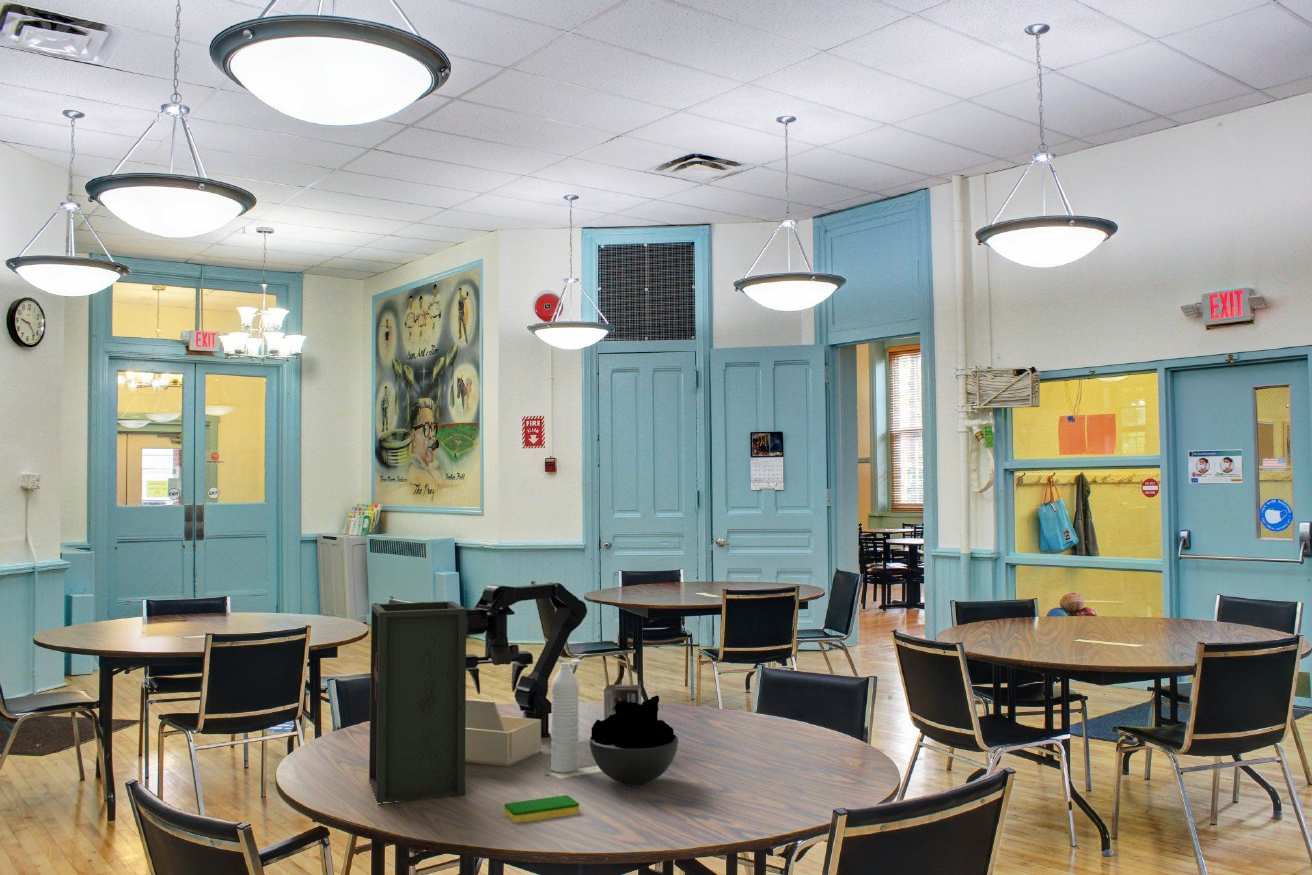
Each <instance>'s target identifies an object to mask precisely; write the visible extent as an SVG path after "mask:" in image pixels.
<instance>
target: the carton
mask: <svg viewBox="0 0 1312 875" xmlns="http://www.w3.org/2000/svg"><path fill="white" fill-rule="evenodd" d="M500 718H501V720H502V723H503V726H504V729H505V731H497V730H487V729H477V728H467V727H465V763H471V764H478V765H479V764H481V765H489V766H490V765H491V766H497V767H506V768H507V767H510V766H513V765H514V764H517V763H520V762H521V761H523V760H525V759H528V758H530V757H532V756H534V755H536V754H538V753H541V752H542V747H541V746H542V737H541V719H531V718H523V717H519V716H508V715H500Z"/></svg>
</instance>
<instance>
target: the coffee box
mask: <svg viewBox="0 0 1312 875" xmlns="http://www.w3.org/2000/svg"><path fill="white" fill-rule="evenodd" d="M623 700H624V701H626V702H629V701H631V702H634V703H638V704H641V705H642V685H641V684H607V685H606V686H605V688H604V689H603V710H604V711H603V714H604V716H603V717H604V718H603V719H604V720H605V719H606V718H608V717H609V715H613V714H616V711H615V705H616V703H617V702H618V701H619V702H622V701H623Z"/></svg>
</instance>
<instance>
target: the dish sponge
mask: <svg viewBox="0 0 1312 875" xmlns="http://www.w3.org/2000/svg"><path fill="white" fill-rule="evenodd" d="M503 809H504V810H503V813H504V815H505V816H506V817H508V819H510V821H512V822H513V823H515V824H518V823H524V822H532V821H538V820H545V819H552V818H557V817H558V818H559V817H564V816H565V817H566V816H573V815H579V814H580V803H579V802H578V801H576V800H575V799H573V798H572V797H571V796H570V795H568V794H566V795H559V796H558V795H557V796H550V797H544V798H536V799H529V800H521V801H514V802H513V801H512V802H506V803H504V807H503Z"/></svg>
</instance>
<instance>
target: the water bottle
mask: <svg viewBox="0 0 1312 875" xmlns="http://www.w3.org/2000/svg"><path fill="white" fill-rule="evenodd" d="M571 665H573V666H578V665H579V666H580V665H582V659H571V660H570V662H560V666H559V670H558V672H557V673H556V674H555V676H554V678H553V679H552V682H551V685H550V686H551V703H552V713H551V718H550V719H551V720H550V721H551V722H550V723H551V733H550V737H551V743H550V744H551V751H550V752H551V754H550V755H551V756H550V757H551V761H550V762H551V763H550V768H551V771H552V772H555V773H563V774H567V773H574V772H576V771H578V770H579V765H580V759H579V754H580V753H579V752H580V750H579V748H580V744H579V739H580V734H579V731H580V729H579V727H580V726H579V722H580V720H579V719H580V718H579V714H580V713H579V703H580V702H579V689H580V687H579V686H580V684H579V683H580V682H579V680H578V679H577V676H576V675H575V674H574V673H573V671H572V670H571V667H572V666H571Z"/></svg>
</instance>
